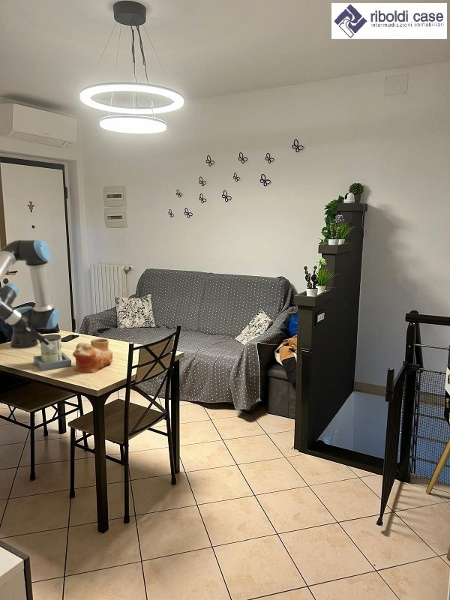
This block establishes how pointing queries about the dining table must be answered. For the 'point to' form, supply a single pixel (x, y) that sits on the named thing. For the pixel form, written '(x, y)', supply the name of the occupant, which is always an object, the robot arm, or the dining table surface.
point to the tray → (52, 363)
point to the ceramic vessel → (92, 356)
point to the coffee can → (56, 352)
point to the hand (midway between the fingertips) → (49, 344)
